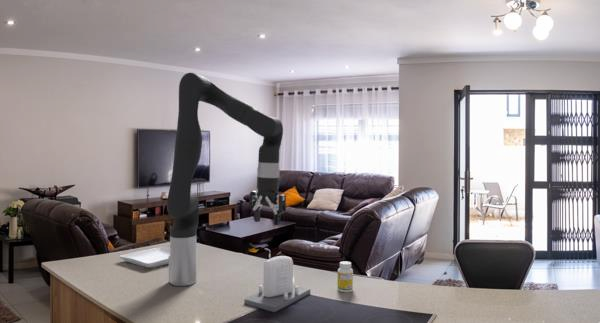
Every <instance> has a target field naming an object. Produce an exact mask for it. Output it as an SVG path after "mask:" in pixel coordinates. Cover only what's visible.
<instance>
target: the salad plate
mask: <svg viewBox="0 0 600 323" xmlns="http://www.w3.org/2000/svg"><path fill="white" fill-rule="evenodd" d="M169 256H170V247H169V248H168V247H164V246H163V247H162V246H159V247H154V248H148V249H144V250H139V251H134V252H129V253H126V254H121V255H119V258H120V259H122V260H123V261H125V262H126V263H127V262H128V263H131V264H134V265H138V266H141V267H143V268H148V269H149V268H150V269H151V268H157V267H161V266H164V265H169Z"/></svg>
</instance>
